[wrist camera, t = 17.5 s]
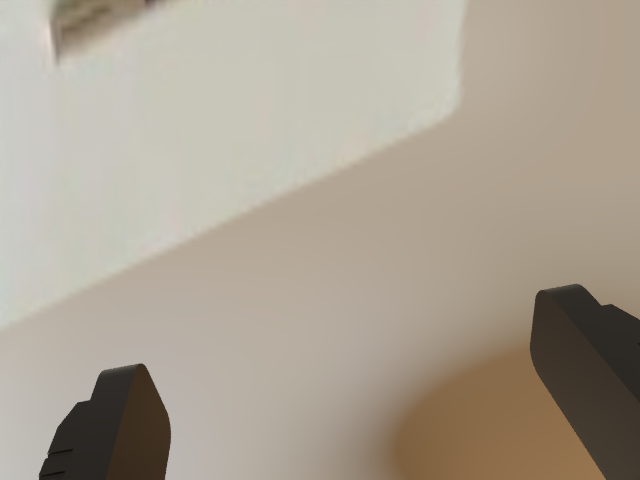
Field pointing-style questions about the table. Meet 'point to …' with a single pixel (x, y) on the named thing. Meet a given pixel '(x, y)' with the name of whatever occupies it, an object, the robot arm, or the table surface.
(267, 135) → the table surface
